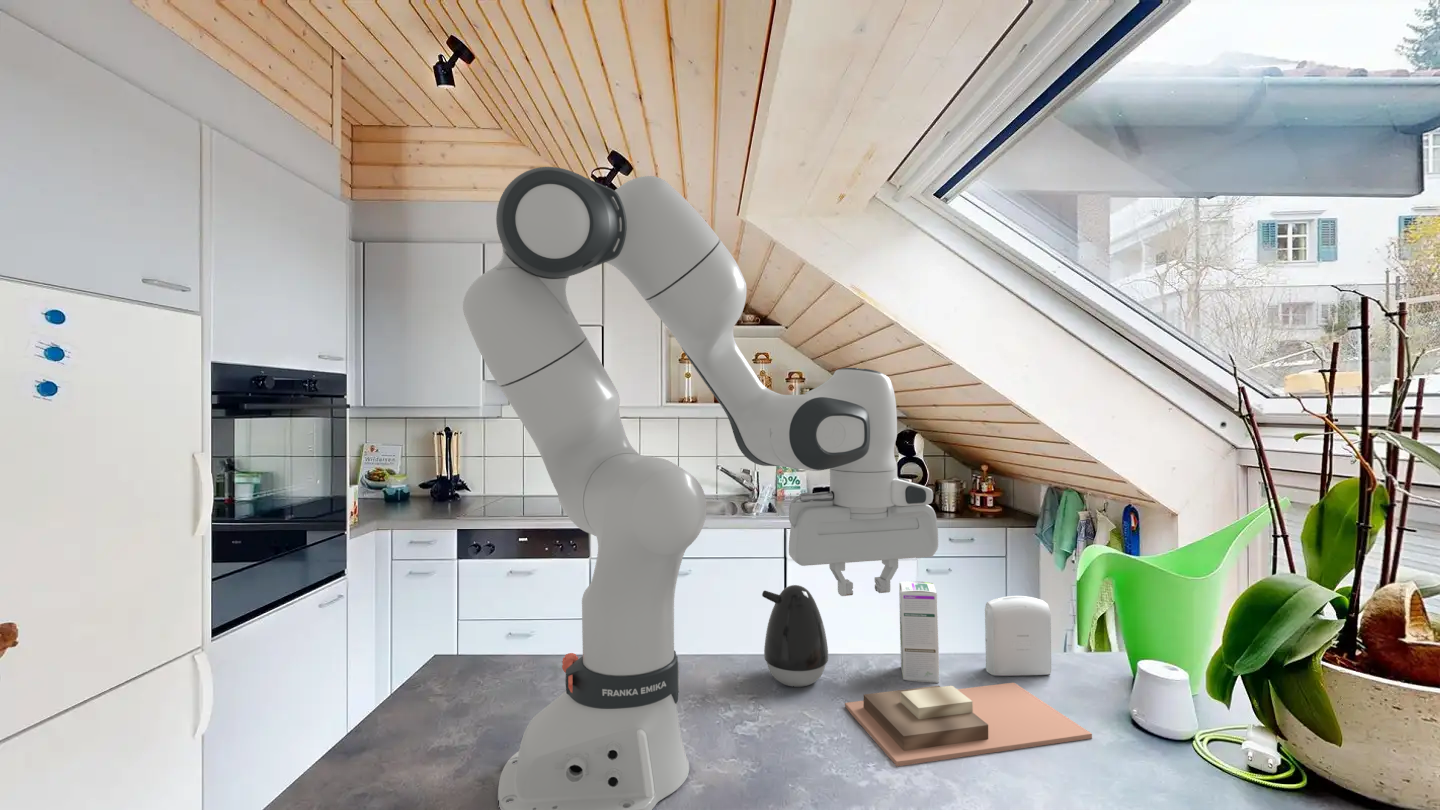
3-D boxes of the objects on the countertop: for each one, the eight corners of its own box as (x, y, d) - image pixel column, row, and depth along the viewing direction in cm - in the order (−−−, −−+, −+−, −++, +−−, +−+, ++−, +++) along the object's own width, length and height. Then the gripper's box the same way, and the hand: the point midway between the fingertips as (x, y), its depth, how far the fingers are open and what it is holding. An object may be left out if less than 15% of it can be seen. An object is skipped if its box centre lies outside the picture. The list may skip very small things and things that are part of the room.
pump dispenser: (762, 666, 113) (761, 576, 112) (824, 666, 112) (823, 576, 112) (764, 694, 103) (762, 595, 102) (832, 694, 102) (831, 595, 102)
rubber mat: (896, 766, 82) (896, 761, 82) (845, 706, 98) (845, 702, 98) (1092, 738, 88) (1091, 733, 88) (1013, 686, 104) (1013, 682, 104)
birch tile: (918, 719, 89) (918, 708, 89) (900, 702, 94) (900, 691, 94) (972, 712, 91) (972, 701, 91) (952, 695, 96) (952, 685, 96)
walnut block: (903, 755, 85) (903, 736, 85) (863, 711, 97) (863, 694, 96) (988, 743, 87) (988, 724, 87) (939, 702, 99) (939, 685, 99)
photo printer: (991, 678, 107) (991, 601, 107) (981, 667, 112) (980, 593, 111) (1056, 677, 107) (1055, 600, 107) (1043, 666, 111) (1043, 592, 111)
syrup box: (940, 683, 105) (939, 591, 105) (901, 680, 107) (900, 590, 106) (935, 668, 111) (935, 581, 111) (899, 666, 112) (898, 580, 112)
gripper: (796, 497, 84) (797, 606, 84) (944, 490, 88) (944, 594, 89) (781, 490, 90) (782, 592, 91) (920, 483, 95) (920, 581, 95)
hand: (864, 593), depth 90 cm, fingers open, 4 cm apart
